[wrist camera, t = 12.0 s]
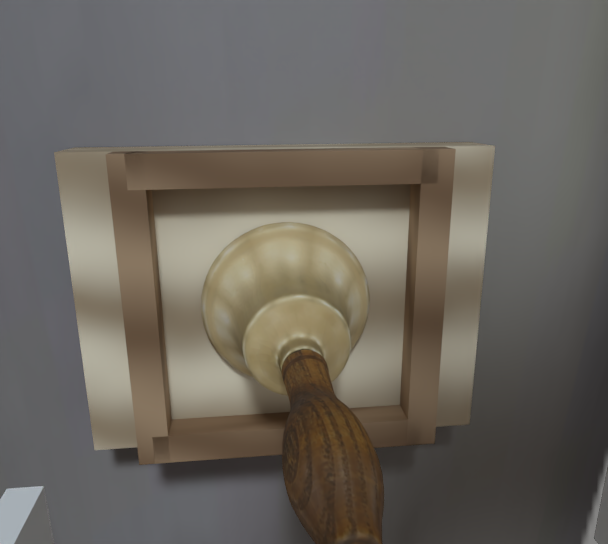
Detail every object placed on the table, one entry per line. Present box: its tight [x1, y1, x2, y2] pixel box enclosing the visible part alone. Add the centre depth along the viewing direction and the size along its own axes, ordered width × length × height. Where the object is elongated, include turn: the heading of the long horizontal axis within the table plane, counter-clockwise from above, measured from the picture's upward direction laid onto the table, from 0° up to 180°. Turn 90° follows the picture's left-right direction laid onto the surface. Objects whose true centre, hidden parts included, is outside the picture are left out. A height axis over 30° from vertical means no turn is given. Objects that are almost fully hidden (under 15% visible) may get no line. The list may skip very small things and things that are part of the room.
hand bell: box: [201, 222, 384, 544], centre depth 19 cm, size 8×8×16 cm
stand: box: [54, 142, 495, 465], centre depth 28 cm, size 15×20×4 cm
